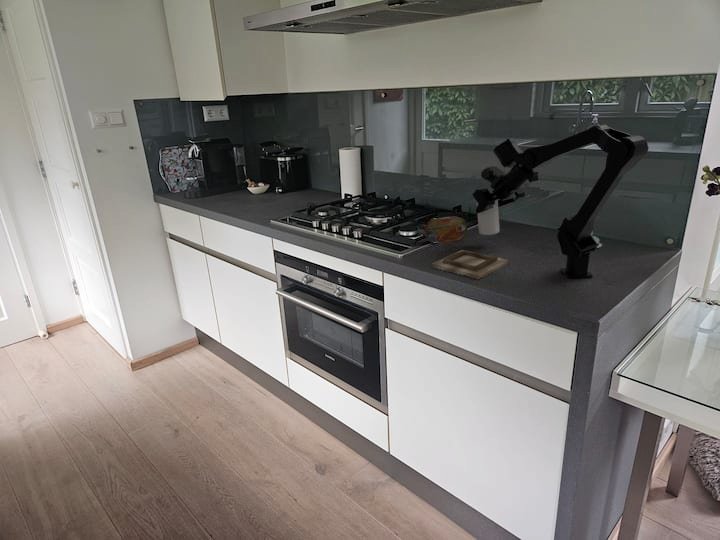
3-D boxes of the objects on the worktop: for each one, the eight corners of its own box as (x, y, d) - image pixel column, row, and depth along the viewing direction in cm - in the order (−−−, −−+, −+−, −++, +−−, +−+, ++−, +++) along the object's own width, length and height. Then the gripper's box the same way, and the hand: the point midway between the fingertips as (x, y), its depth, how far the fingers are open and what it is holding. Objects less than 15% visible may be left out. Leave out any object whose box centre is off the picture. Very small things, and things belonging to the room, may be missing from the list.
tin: (426, 245, 164) (426, 220, 162) (423, 242, 167) (423, 218, 164) (467, 239, 168) (468, 216, 165) (463, 237, 171) (464, 214, 168)
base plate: (508, 264, 144) (508, 256, 143) (479, 279, 134) (479, 272, 133) (462, 253, 155) (462, 246, 154) (431, 267, 144) (431, 260, 144)
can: (500, 234, 154) (498, 198, 149) (479, 236, 156) (476, 200, 151) (498, 227, 160) (496, 192, 155) (478, 229, 161) (475, 194, 156)
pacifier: (605, 246, 156) (588, 241, 161) (609, 227, 154) (591, 223, 158) (593, 251, 152) (575, 246, 157) (596, 232, 150) (578, 227, 154)
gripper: (519, 154, 151) (489, 186, 163) (478, 162, 141) (449, 195, 153) (539, 183, 148) (507, 213, 160) (499, 192, 137) (468, 223, 150)
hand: (483, 210), depth 156 cm, fingers closed on can, 6 cm apart
